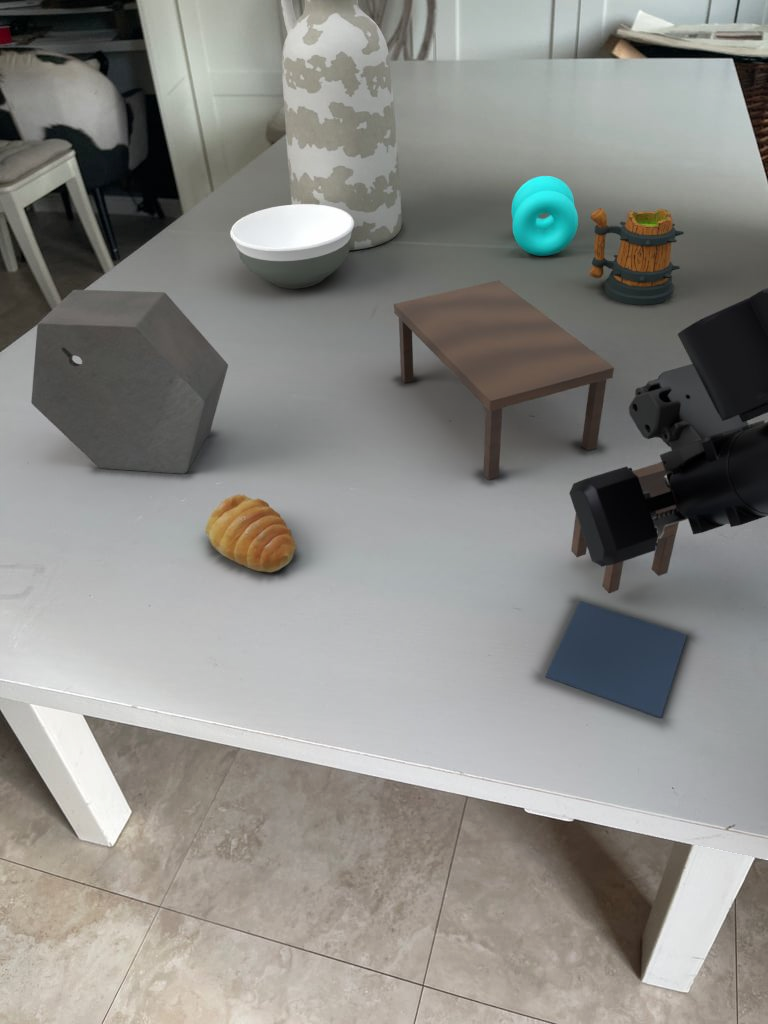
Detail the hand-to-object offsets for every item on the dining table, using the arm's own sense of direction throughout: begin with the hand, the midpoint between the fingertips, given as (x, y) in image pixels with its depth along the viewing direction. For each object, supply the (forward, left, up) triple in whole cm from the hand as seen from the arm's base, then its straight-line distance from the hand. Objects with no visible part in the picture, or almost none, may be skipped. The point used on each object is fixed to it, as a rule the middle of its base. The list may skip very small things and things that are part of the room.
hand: (637, 507), depth 66 cm
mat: (-2, +9, -8) cm, 12 cm away
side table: (+21, -21, -8) cm, 31 cm away
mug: (+15, -59, -9) cm, 62 cm away
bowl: (+63, -45, -9) cm, 78 cm away
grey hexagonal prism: (+53, +2, -9) cm, 54 cm away
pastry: (+33, +10, -9) cm, 36 cm away
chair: (+1, -1, -7) cm, 7 cm away
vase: (+66, -65, -9) cm, 93 cm away
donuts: (+32, -70, -9) cm, 78 cm away
